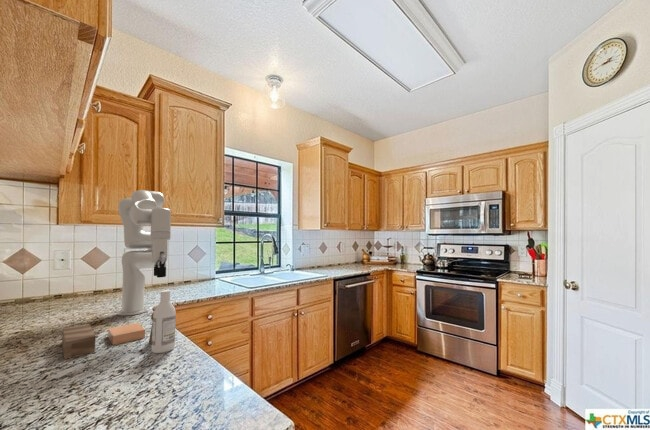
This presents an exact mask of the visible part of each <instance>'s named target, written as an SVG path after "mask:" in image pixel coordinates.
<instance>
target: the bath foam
mask: <svg viewBox="0 0 650 430" xmlns="http://www.w3.org/2000/svg"><path fill="white" fill-rule="evenodd" d="M175 308H176V307H175V306H174V304H173V303H172V302H171V290H169V289H165V290H161V291H160V301H159V303H158V305H157V306H156V308H154V311H153V312H154V314H153V321H152V322H153V327H152V326H151V328H152V344H151V352H152V353H154V354H163V353H167V352H169V351H172V350H173V349H174V348H175V342H176V320H177V313H176V312H177V311H176V309H175Z"/></svg>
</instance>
